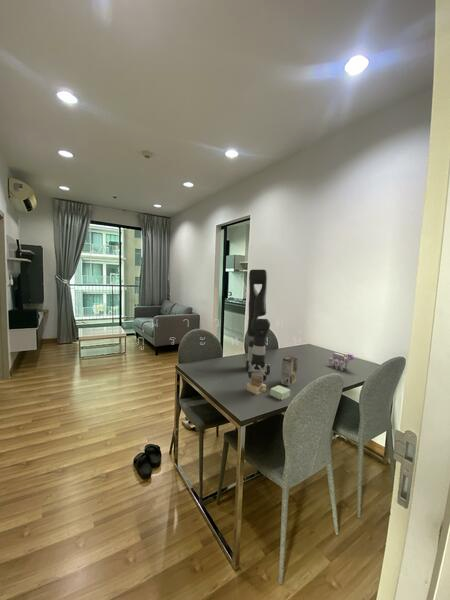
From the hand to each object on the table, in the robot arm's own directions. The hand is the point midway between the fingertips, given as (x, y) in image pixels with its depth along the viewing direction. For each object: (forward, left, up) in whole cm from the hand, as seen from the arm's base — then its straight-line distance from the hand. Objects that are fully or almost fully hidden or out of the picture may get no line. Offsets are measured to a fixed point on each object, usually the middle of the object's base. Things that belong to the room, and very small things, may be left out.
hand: (257, 379), depth 154 cm
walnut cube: (0, 0, -3) cm, 3 cm away
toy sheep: (-71, +44, -7) cm, 84 cm away
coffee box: (-22, +14, -7) cm, 27 cm away
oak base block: (0, 0, -7) cm, 7 cm away
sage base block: (-1, +14, -7) cm, 16 cm away
